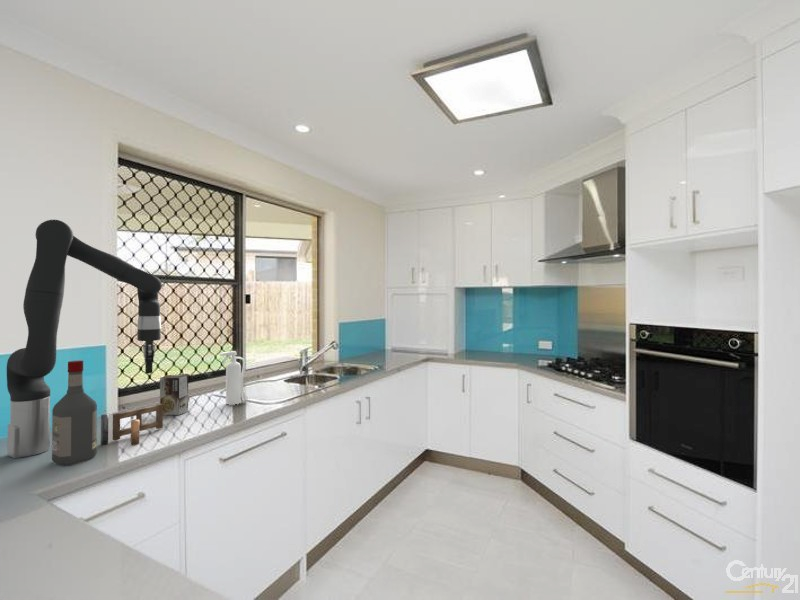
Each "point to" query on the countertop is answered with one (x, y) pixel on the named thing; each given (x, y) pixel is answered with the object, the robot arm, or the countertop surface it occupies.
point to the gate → (138, 414)
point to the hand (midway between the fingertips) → (148, 373)
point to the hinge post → (104, 429)
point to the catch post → (135, 432)
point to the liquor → (74, 422)
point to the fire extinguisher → (234, 379)
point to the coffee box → (174, 394)
